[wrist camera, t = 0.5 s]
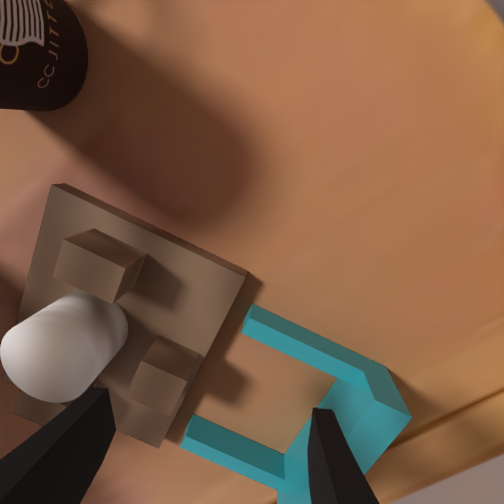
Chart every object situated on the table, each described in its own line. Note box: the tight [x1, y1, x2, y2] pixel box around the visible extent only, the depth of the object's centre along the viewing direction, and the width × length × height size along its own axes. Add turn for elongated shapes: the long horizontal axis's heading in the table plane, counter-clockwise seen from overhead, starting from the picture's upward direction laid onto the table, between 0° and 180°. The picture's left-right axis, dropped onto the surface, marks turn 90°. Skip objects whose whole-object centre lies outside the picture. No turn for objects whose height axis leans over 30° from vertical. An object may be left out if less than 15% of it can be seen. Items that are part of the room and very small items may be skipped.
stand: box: [0, 183, 247, 449], centre depth 19 cm, size 13×16×6 cm
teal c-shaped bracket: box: [180, 304, 413, 504], centre depth 20 cm, size 10×12×4 cm
